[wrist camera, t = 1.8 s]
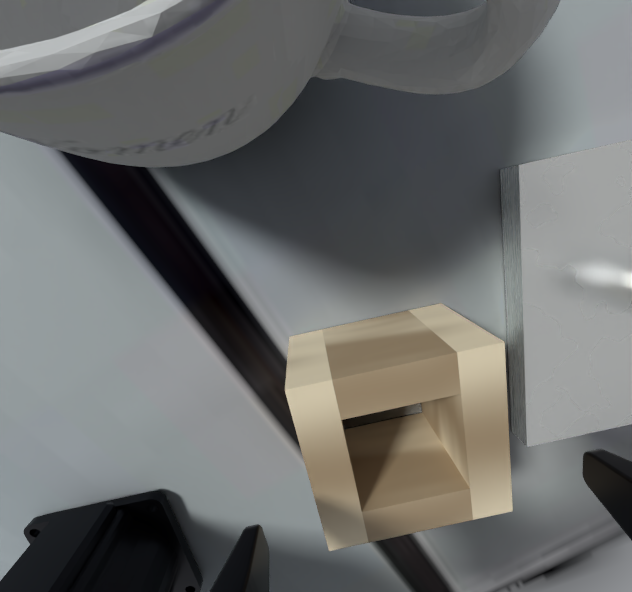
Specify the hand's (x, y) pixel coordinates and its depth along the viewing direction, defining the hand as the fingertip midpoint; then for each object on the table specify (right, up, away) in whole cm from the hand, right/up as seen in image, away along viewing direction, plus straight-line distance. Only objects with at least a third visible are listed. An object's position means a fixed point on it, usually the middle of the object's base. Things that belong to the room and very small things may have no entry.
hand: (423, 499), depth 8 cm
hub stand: (+11, +6, +5) cm, 13 cm away
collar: (0, +1, +5) cm, 5 cm away
